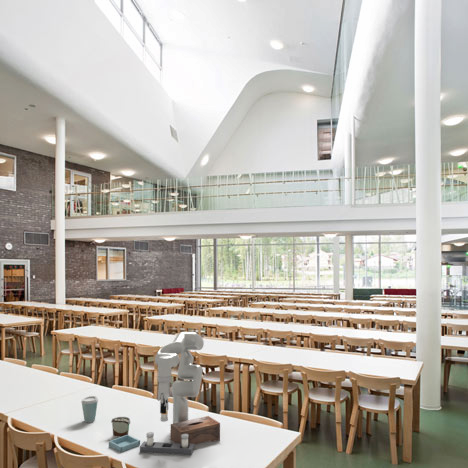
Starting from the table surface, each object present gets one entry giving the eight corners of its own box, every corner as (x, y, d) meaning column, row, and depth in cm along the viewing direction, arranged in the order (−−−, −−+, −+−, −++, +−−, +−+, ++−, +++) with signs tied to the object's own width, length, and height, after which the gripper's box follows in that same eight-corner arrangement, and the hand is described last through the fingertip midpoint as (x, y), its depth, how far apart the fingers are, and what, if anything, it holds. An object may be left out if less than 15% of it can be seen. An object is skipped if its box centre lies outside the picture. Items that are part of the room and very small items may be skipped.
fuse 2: (185, 449, 238) (185, 433, 239) (189, 451, 235) (190, 435, 236) (179, 451, 235) (179, 435, 236) (184, 454, 232) (184, 437, 233)
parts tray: (127, 440, 252) (127, 434, 253) (140, 446, 244) (140, 440, 244) (108, 447, 243) (108, 441, 243) (120, 453, 235) (121, 447, 235)
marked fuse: (164, 418, 241) (164, 402, 242) (169, 420, 238) (169, 403, 239) (159, 420, 238) (159, 403, 239) (163, 422, 235) (163, 405, 236)
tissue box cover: (208, 432, 266) (208, 415, 267) (220, 440, 254) (220, 423, 254) (170, 441, 252) (170, 424, 253) (180, 450, 240) (180, 432, 241)
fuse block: (139, 454, 234) (139, 446, 235) (143, 448, 241) (144, 441, 242) (191, 457, 231) (191, 449, 231) (194, 451, 238) (194, 443, 238)
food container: (134, 434, 262) (134, 417, 263) (128, 438, 256) (129, 421, 257) (116, 432, 266) (116, 415, 266) (110, 435, 260) (111, 419, 260)
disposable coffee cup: (92, 424, 278) (92, 401, 279) (77, 423, 280) (78, 400, 281) (100, 418, 289) (101, 396, 290) (86, 417, 291) (86, 395, 292)
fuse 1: (150, 447, 240) (150, 431, 241) (154, 449, 237) (155, 433, 238) (144, 450, 237) (145, 433, 238) (149, 452, 235) (149, 435, 235)
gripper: (162, 374, 248) (161, 406, 247) (154, 382, 232) (153, 416, 230) (174, 374, 248) (174, 407, 246) (167, 382, 231) (167, 417, 230)
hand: (164, 411), depth 238 cm, fingers closed on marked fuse, 4 cm apart
